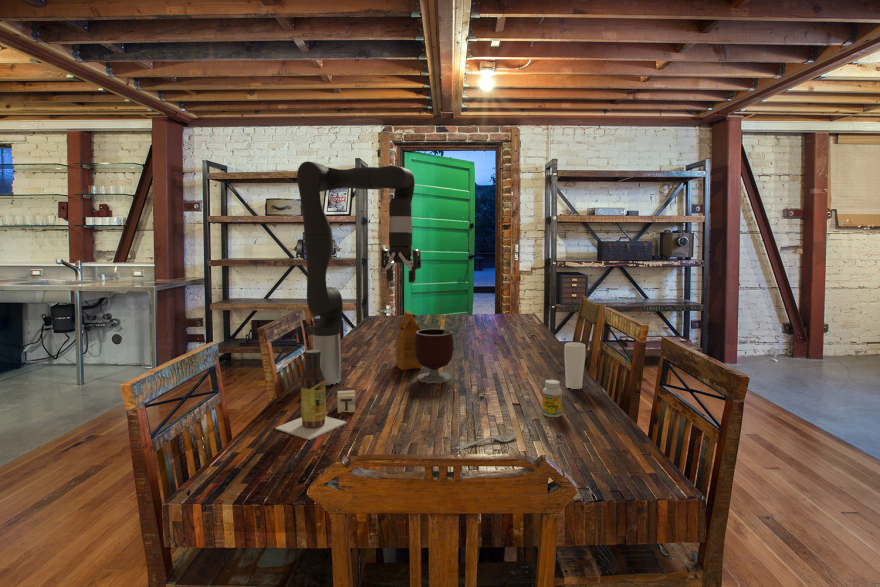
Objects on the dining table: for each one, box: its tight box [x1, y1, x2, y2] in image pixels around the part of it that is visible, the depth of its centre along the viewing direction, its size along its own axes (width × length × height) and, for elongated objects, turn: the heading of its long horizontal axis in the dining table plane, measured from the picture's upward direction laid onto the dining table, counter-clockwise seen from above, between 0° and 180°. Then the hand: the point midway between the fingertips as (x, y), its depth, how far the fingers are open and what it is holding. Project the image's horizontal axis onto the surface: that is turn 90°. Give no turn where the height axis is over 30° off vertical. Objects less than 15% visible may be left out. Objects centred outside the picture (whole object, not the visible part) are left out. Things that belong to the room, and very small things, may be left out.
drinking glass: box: [563, 341, 586, 390], centre depth 157 cm, size 7×7×15 cm
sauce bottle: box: [300, 349, 327, 428], centre depth 124 cm, size 7×6×20 cm
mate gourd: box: [415, 324, 458, 384], centre depth 168 cm, size 16×14×20 cm
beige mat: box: [274, 415, 348, 441], centre depth 125 cm, size 13×13×1 cm
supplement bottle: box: [541, 379, 563, 418], centre depth 133 cm, size 5×5×10 cm
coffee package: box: [395, 310, 423, 371], centre depth 184 cm, size 10×12×22 cm
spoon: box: [456, 431, 517, 450], centre depth 114 cm, size 4×21×2 cm, turn 114°
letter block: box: [336, 389, 356, 414], centre depth 137 cm, size 5×5×5 cm
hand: (400, 282), depth 151 cm, fingers open, 8 cm apart
